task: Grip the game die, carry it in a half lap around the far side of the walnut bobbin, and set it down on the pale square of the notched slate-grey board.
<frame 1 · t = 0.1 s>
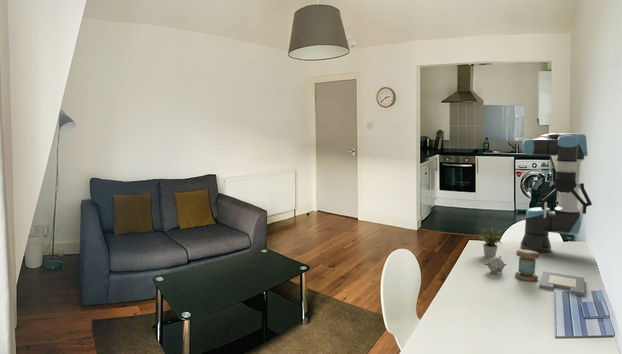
hand: (562, 219, 181), 28 cm above the table, tool pointing down, fingers open, 13 cm apart
house plant: (487, 256, 218), on the table
bobbin: (526, 278, 187), on the table
notched board: (562, 284, 179), on the table
game die: (495, 273, 194), on the table
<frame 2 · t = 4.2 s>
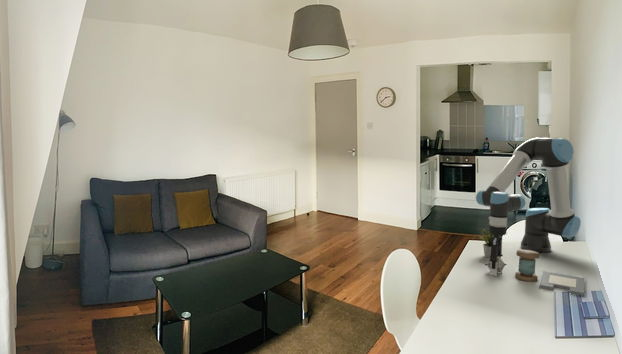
hand: (495, 272, 194), 0 cm above the table, tool pointing down, fingers open, 8 cm apart
game die: (495, 273, 194), on the table, touching gripper
everything else where it was.
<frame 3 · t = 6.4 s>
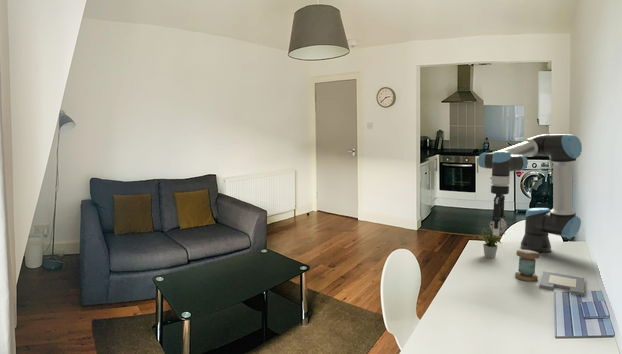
hand: (497, 233, 192), 19 cm above the table, tool pointing down, fingers closed on game die, 8 cm apart
game die: (497, 234, 192), point 19 cm above the table, touching gripper
everything else where it was.
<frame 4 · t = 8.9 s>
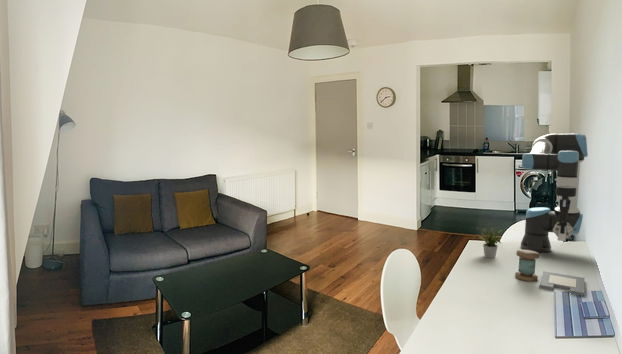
hand: (562, 238, 179), 20 cm above the table, tool pointing down, fingers closed on game die, 8 cm apart
game die: (562, 239, 179), point 20 cm above the table, touching gripper
everything else where it was.
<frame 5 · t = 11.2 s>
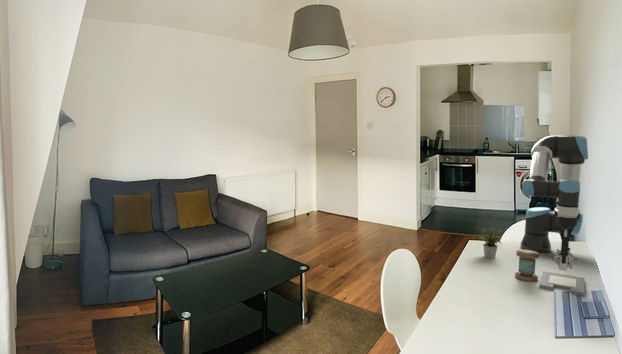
hand: (563, 267, 178), 8 cm above the table, tool pointing down, fingers closed on game die, 8 cm apart
game die: (563, 268, 178), point 7 cm above the table, touching gripper
everything else where it was.
when the fingers open (3 cm above the table, at t = 13.0 s): game die drops 1 cm, resting on notched board.
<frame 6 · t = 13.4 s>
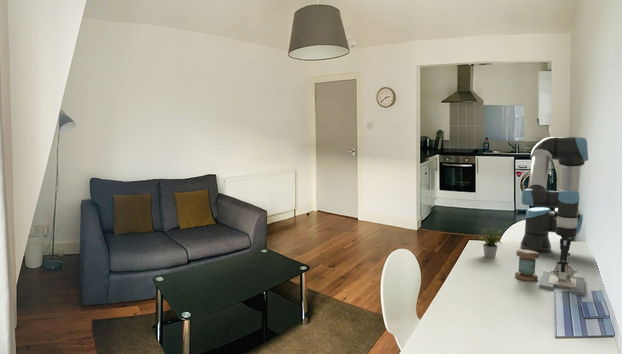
hand: (562, 274, 179), 5 cm above the table, tool pointing down, fingers open, 13 cm apart
game die: (562, 281, 179), point 1 cm above the table, touching notched board
everything else where it was.
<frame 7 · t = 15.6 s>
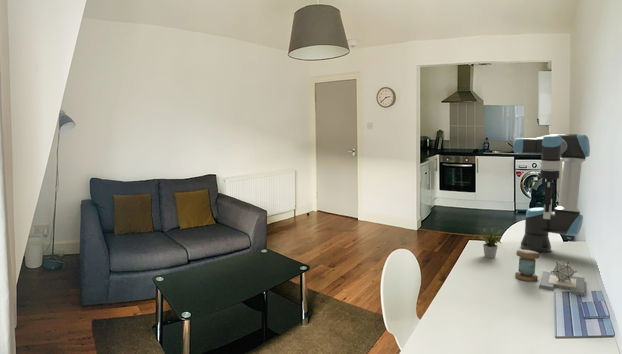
hand: (547, 215, 189), 28 cm above the table, tool pointing down, fingers open, 13 cm apart
nothing on the table moved.
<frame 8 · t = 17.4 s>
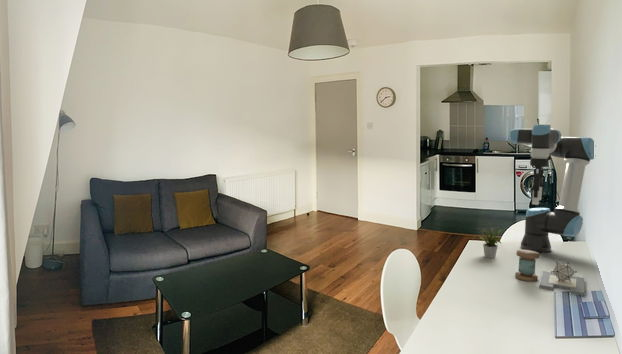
hand: (536, 202, 196), 33 cm above the table, tool pointing down, fingers open, 13 cm apart
nothing on the table moved.
at the end: game die inside the target area (0.3 cm from its centre), point 1.5 cm above the table; game die tilted 2°; the gripper is holding nothing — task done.
